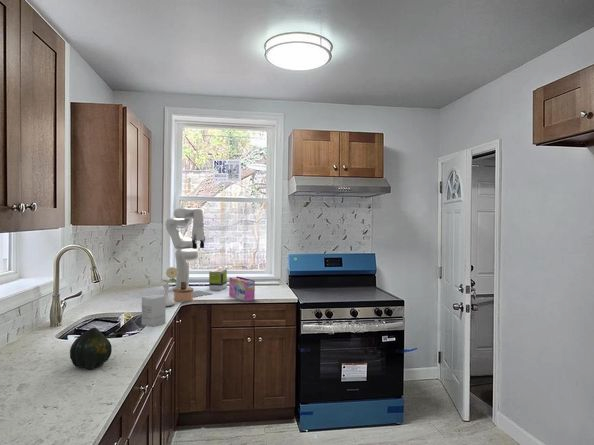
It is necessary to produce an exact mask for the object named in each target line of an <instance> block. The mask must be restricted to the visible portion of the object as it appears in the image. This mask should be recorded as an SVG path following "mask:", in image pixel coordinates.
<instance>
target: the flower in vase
mask: <svg viewBox="0 0 594 445" xmlns="http://www.w3.org/2000/svg"><path fill="white" fill-rule="evenodd" d="M165 275H166V276H167V278H169V280H165V279H162V281H163V282H167V283H162V288H163V289H164V290H163V292H164V294H163V296H165V307H170V306H174V305H175V304H176V301H175V300H174V298H172V297H170V295H169V288H170V286H171V283H169V282H172V283H176V277H177V276H178V271H177V270H176V267H173V266H170V267H169V268H166V271H165Z"/></svg>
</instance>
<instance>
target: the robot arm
mask: <svg viewBox="0 0 594 445" xmlns="http://www.w3.org/2000/svg"><path fill="white" fill-rule="evenodd" d="M204 215H205V211H204V209H203V208H197V207H196V208H195V207H194V208H193V207H189V208H188V207H178V208H176V209H174V212H173V216H174V217H169V218H167V219H166V221H165V230H166V231H167V233H168V234H169V236H170V238H171V242H172V244H173V246H174V249H175V250H176V251H175V253H174V254H175V256H174V257H175V263H176V266H175V268H176V270H177V271H178V276H177V277H175V280H176V282H174V287H173V289H175V288H180V287H181V282H182V281H186V287H190V288H192V287H191V286H189V285H190V265H189V263H188V262H187V261H195V260H197V259H198V257H199V252H198V245H197V242H198V241H199V248H200V249H204V248H205V241H206V236H205V227H204V223H205V222H204V221H205V220H204V218H205V216H204ZM191 221H192V229H191V237H183V234H182V232H180V230H178V229H186V228H188V227H189V224H190V222H191Z"/></svg>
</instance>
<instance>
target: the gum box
mask: <svg viewBox="0 0 594 445" xmlns="http://www.w3.org/2000/svg"><path fill="white" fill-rule="evenodd" d="M228 284H229V287H228V295H229V297H232V298H235V299H237V300H241V301H244V302H250V301H255V295H256V294H255V290H256V289H255V288H256V287H255V286H256V282H255V280H253V279H249V278H245V277H241V276H235V277H229V282H228Z"/></svg>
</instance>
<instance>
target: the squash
mask: <svg viewBox="0 0 594 445" xmlns="http://www.w3.org/2000/svg"><path fill="white" fill-rule="evenodd" d="M112 347H113V346H112V344H111V341H110V340H109V339H108V338H107V337H106V336H105V335H104V334H103V333H102V332H101V331H100V330H99V329H98V328H97V327H93V328H89V329H88V330H86V331H84V332H83V333H82V334H80V335H79V336H78V337H77V338H76V339H75V340H74V341H73V343H72V344H71V346H70V348H69V359H70V361H71V362H72V365H73V366H75V367H79V368H81V367H83V368H84V367H85V368H86V369H87V370H92V369H94V367H95V368H98V367H101V366H103V365H104V364H105V363H106V362H107V361H108V360H109V359H110V357H111V354H112V351H113V350H112Z"/></svg>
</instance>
